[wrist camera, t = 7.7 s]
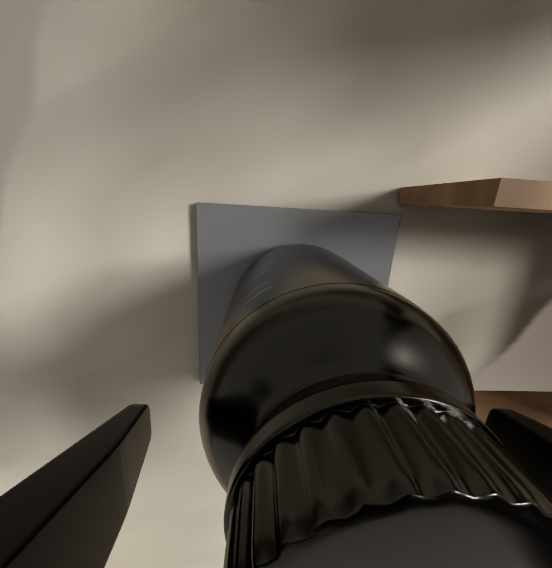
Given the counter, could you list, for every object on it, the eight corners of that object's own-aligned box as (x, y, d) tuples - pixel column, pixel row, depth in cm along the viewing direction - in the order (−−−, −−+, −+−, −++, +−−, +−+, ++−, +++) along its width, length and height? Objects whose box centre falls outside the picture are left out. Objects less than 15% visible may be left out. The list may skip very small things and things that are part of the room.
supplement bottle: (383, 277, 15) (825, 546, 3) (318, 377, 16) (460, 803, 5) (268, 214, 13) (322, 288, 2) (209, 329, 15) (45, 749, 3)
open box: (658, 205, 15) (909, 208, 9) (573, 402, 18) (715, 493, 13) (401, 187, 14) (501, 178, 8) (363, 399, 17) (414, 497, 12)
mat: (396, 214, 14) (400, 215, 14) (366, 382, 17) (369, 386, 17) (198, 202, 14) (196, 202, 13) (201, 379, 16) (199, 383, 16)
